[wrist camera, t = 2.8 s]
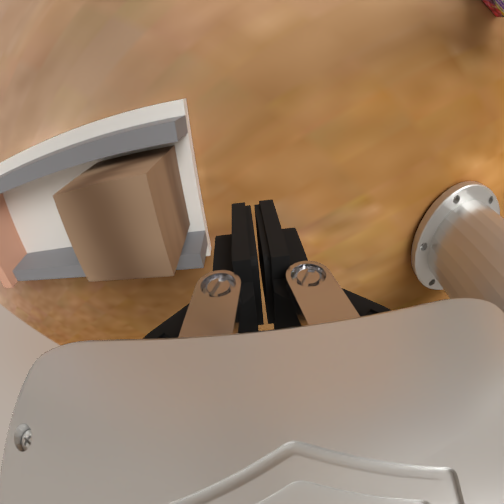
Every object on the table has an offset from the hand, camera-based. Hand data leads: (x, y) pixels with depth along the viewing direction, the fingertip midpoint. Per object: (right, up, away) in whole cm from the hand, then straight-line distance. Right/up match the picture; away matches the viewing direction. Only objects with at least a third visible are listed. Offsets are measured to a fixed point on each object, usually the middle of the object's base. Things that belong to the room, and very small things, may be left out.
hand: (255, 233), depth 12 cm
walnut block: (-8, +3, +7) cm, 11 cm away
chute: (-14, +3, +8) cm, 17 cm away
